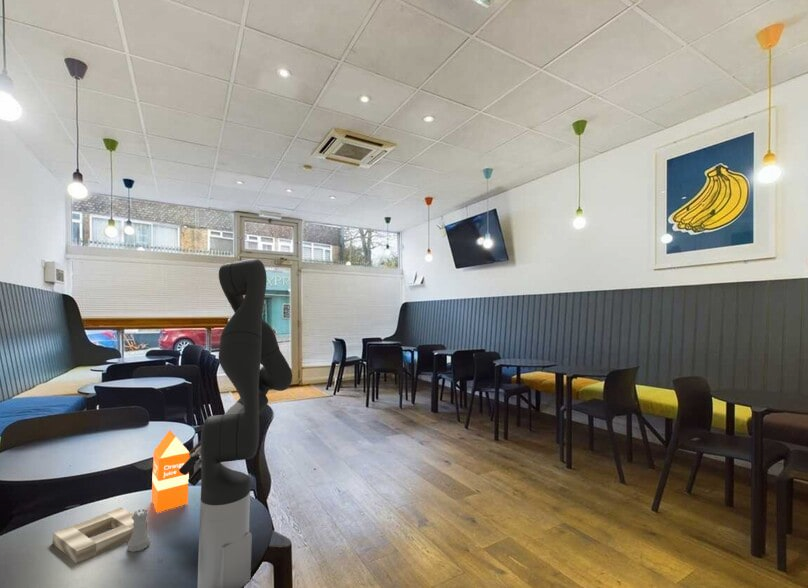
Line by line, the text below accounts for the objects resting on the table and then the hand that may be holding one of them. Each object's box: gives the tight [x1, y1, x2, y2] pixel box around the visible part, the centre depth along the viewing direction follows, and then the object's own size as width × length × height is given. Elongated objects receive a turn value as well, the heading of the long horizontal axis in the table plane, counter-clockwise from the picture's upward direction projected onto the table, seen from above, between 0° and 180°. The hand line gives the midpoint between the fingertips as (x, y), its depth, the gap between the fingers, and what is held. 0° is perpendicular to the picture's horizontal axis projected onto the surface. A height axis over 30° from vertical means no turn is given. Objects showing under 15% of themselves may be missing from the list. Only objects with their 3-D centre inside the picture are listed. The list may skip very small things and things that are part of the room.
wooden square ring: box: [52, 507, 148, 564], centre depth 92 cm, size 14×14×2 cm
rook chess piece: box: [126, 508, 151, 553], centre depth 89 cm, size 4×4×8 cm
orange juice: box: [151, 429, 190, 514], centre depth 110 cm, size 8×9×20 cm
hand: (186, 478), depth 96 cm, fingers open, 8 cm apart
